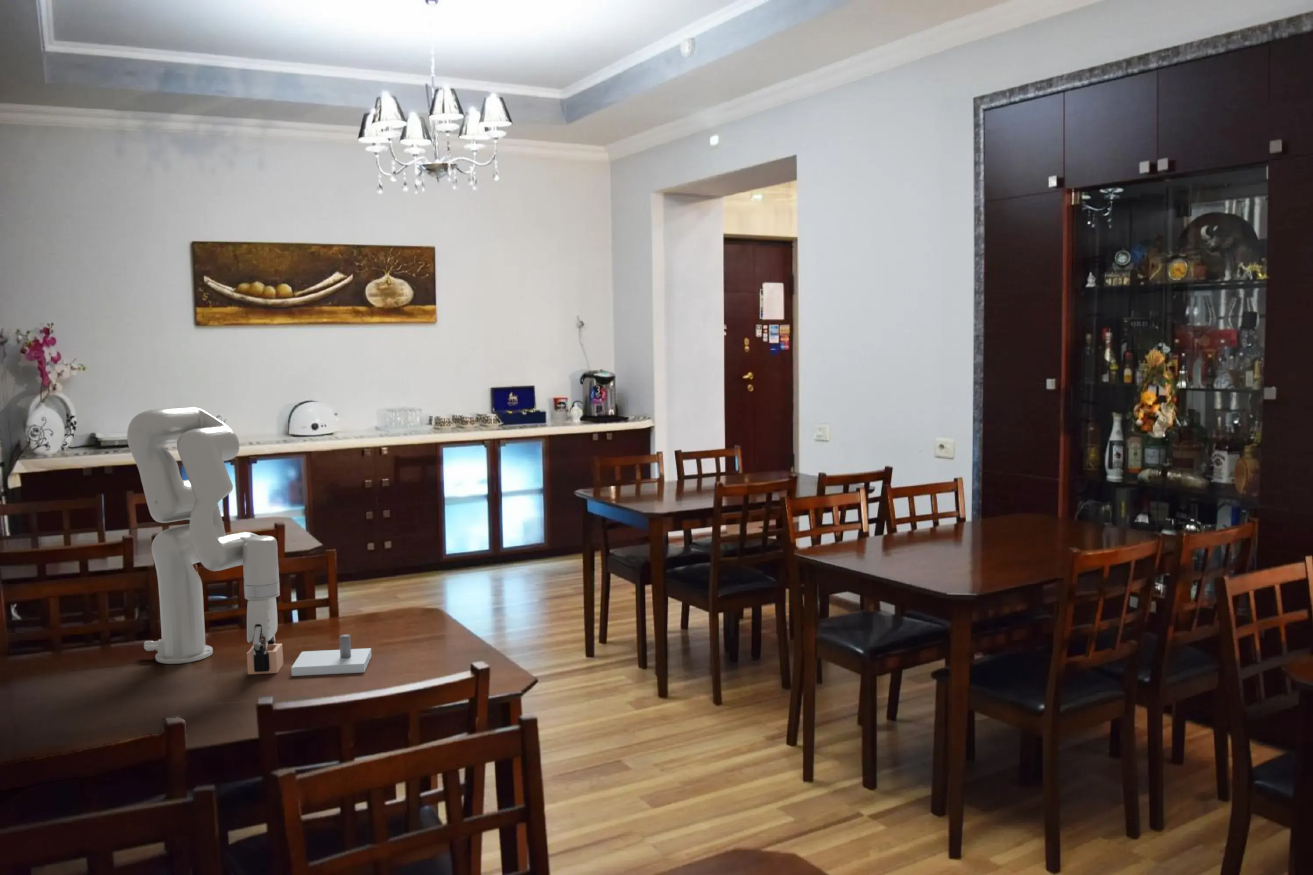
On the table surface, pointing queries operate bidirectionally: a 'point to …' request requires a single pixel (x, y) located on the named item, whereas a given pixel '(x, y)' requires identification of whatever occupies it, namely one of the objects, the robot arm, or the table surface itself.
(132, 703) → the table surface
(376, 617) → the table surface
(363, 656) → the post plate
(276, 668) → the collar
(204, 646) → the robot arm
